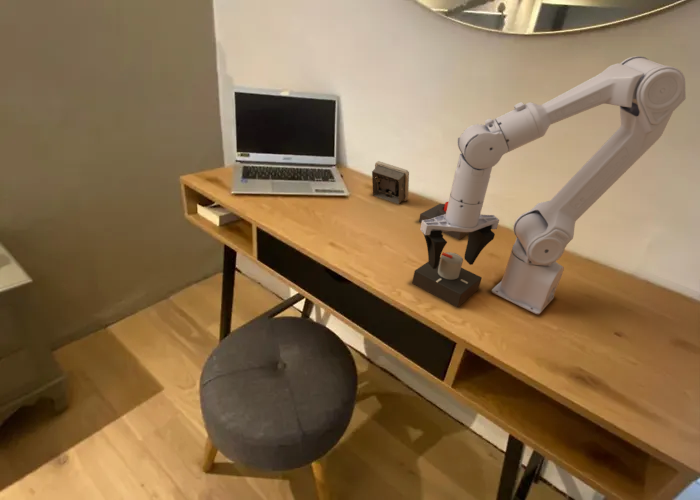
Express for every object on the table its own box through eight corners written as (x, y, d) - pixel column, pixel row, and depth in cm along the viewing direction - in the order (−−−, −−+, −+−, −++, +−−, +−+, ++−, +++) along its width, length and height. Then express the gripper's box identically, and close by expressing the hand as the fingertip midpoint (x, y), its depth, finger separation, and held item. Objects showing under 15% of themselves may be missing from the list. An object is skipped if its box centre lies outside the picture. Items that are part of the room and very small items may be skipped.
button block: (477, 227, 113) (481, 212, 111) (458, 239, 107) (462, 224, 105) (438, 211, 119) (441, 196, 117) (418, 221, 113) (421, 206, 110)
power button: (461, 211, 111) (463, 205, 110) (454, 216, 109) (455, 209, 108) (448, 206, 113) (450, 199, 112) (440, 210, 111) (442, 204, 110)
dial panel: (478, 289, 90) (482, 276, 89) (457, 308, 85) (460, 293, 83) (434, 267, 96) (437, 254, 94) (411, 283, 90) (414, 269, 89)
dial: (462, 272, 89) (466, 255, 87) (454, 282, 86) (458, 265, 84) (442, 265, 91) (446, 248, 89) (434, 274, 88) (438, 257, 86)
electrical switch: (408, 200, 122) (412, 168, 117) (398, 209, 119) (402, 175, 113) (377, 190, 126) (379, 158, 121) (367, 198, 123) (369, 165, 117)
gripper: (490, 185, 86) (473, 249, 93) (418, 189, 81) (406, 255, 89) (513, 202, 80) (493, 268, 87) (437, 207, 76) (422, 277, 83)
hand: (450, 263), depth 88 cm, fingers open, 7 cm apart
